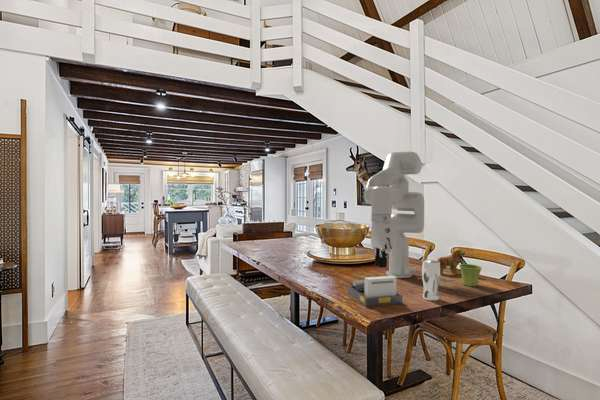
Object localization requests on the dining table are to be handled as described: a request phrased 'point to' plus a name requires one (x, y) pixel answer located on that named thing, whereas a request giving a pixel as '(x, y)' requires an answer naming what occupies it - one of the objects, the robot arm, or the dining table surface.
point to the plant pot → (470, 274)
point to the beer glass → (430, 279)
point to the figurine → (451, 261)
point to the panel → (380, 286)
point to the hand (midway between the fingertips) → (380, 266)
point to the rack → (358, 294)
